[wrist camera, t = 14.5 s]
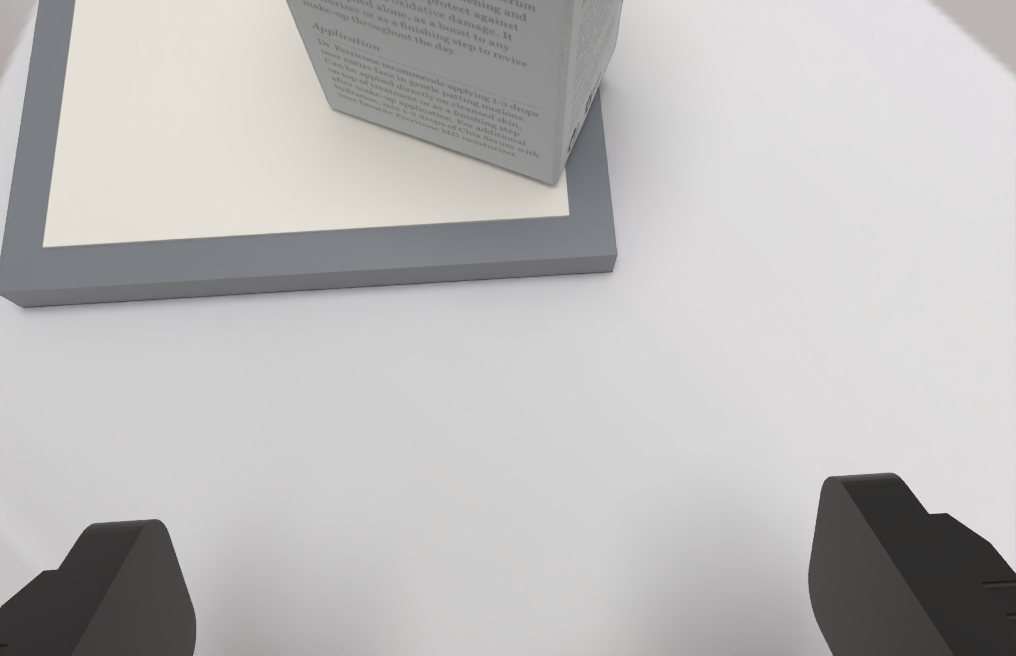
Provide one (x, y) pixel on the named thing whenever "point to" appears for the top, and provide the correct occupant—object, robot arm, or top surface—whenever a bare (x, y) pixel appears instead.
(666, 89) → the top surface
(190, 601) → the robot arm
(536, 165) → the skincare box
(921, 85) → the top surface
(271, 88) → the picture frame
